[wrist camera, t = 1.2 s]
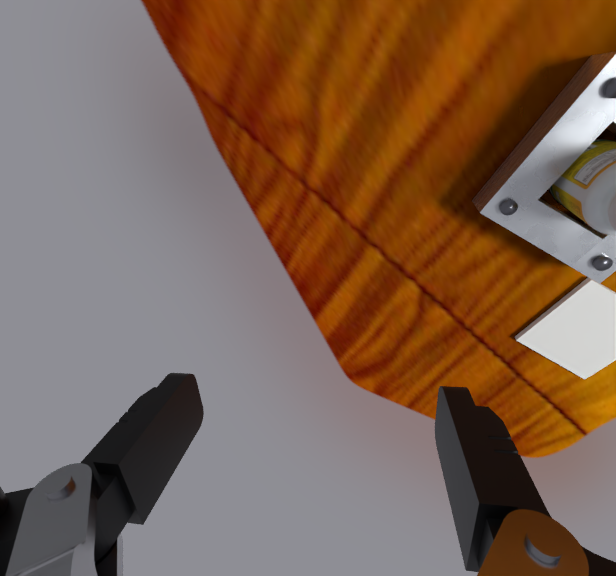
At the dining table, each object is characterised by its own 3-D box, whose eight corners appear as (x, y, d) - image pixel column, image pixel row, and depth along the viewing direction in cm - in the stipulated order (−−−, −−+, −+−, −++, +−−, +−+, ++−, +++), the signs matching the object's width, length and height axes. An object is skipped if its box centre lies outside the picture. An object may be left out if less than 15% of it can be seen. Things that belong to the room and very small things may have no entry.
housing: (591, 55, 23) (622, 50, 20) (726, 141, 24) (776, 150, 21) (471, 200, 30) (480, 214, 27) (580, 264, 31) (601, 285, 28)
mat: (588, 276, 31) (591, 279, 31) (666, 322, 32) (670, 326, 31) (514, 336, 36) (516, 340, 36) (582, 375, 37) (584, 379, 36)
